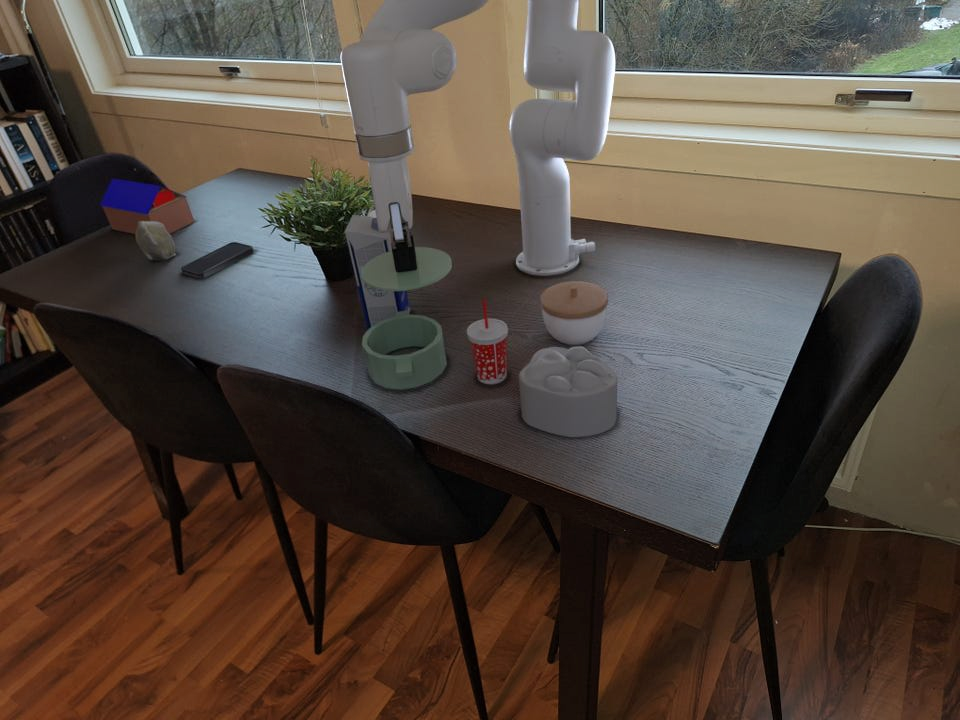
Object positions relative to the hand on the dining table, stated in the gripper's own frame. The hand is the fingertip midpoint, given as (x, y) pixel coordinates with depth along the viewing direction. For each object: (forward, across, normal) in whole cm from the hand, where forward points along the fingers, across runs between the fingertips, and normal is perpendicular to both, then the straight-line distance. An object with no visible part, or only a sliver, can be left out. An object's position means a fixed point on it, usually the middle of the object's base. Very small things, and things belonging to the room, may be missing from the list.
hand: (406, 264), depth 99 cm
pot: (+17, +2, -2) cm, 18 cm away
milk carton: (+17, -13, -5) cm, 23 cm away
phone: (+17, -51, -44) cm, 70 cm away
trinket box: (+17, 0, +26) cm, 31 cm away
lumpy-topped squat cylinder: (+17, +19, +21) cm, 33 cm away
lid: (+1, 0, 0) cm, 1 cm away
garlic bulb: (+17, -59, -59) cm, 86 cm away
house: (+17, -81, -68) cm, 107 cm away
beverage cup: (+17, +8, +11) cm, 22 cm away
